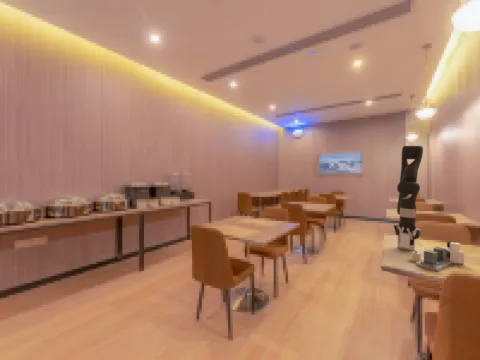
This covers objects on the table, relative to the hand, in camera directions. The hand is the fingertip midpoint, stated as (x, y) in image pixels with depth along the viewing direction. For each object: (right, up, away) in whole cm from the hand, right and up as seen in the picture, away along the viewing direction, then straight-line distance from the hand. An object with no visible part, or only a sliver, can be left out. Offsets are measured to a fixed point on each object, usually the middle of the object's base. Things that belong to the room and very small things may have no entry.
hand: (406, 243), depth 133 cm
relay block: (+10, -12, +6) cm, 17 cm away
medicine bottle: (+33, -12, +5) cm, 35 cm away
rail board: (+17, -12, 0) cm, 21 cm away
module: (0, -1, 0) cm, 1 cm away
